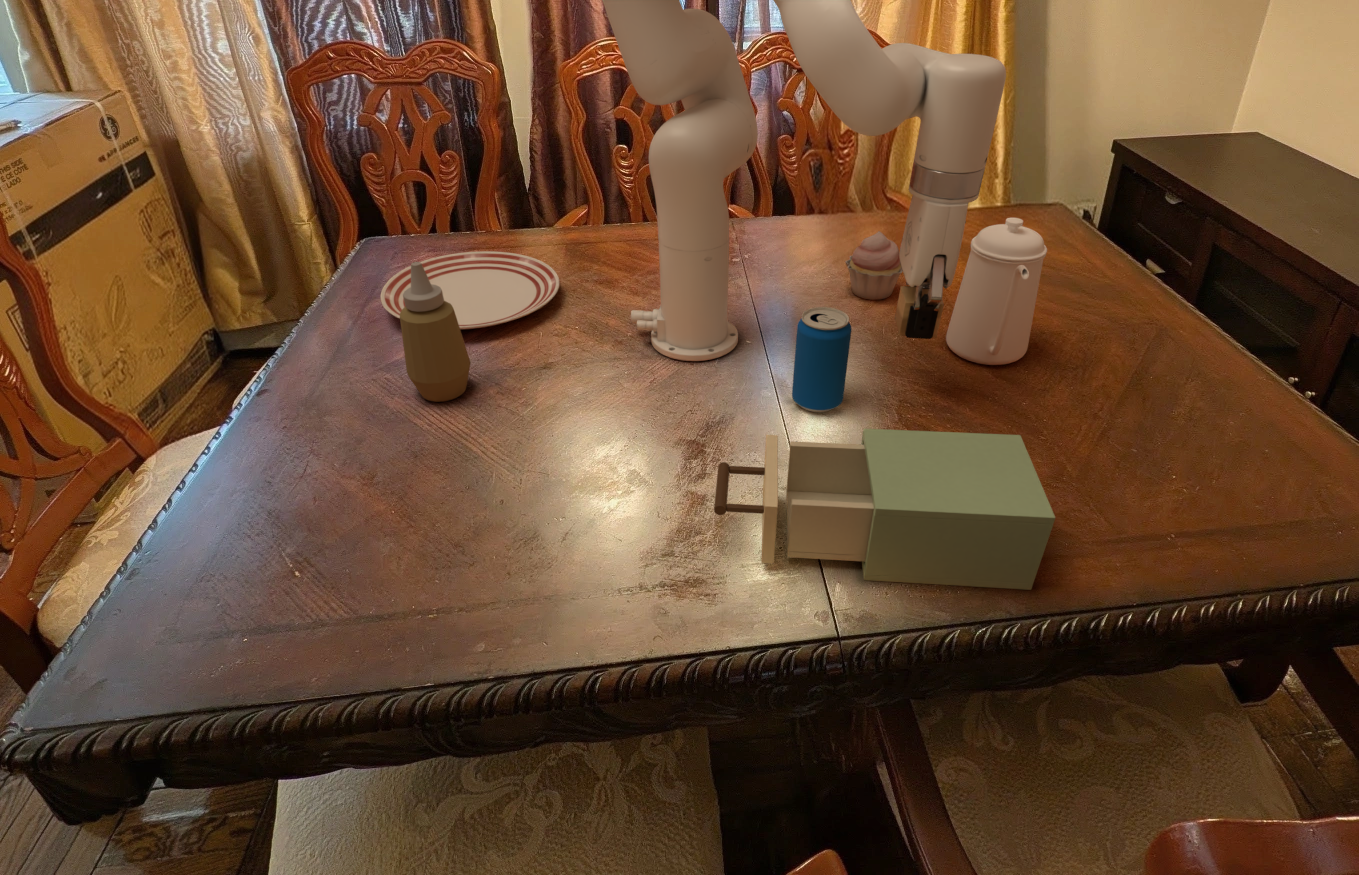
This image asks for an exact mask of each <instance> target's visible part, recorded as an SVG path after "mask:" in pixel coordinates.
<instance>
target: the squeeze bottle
mask: <svg viewBox="0 0 1359 875" xmlns="http://www.w3.org/2000/svg"><path fill="white" fill-rule="evenodd" d="M410 266H411V287H410V288H408V289H407V290H406V291H404V293H403V298H404V302H405V307H404V308H403V309H402V311H401V313H400V319H399V322H400V329H401V338H402V346H403V354H404V362H405V369H406V374H407V376H408V378H409V379H410V381H411V382H412V384H413V385H414V387H415V389H416V390H417V391H418V392H419V394H420V395H421V397H422V398H423V399H424V400H426V401H429V402H436V403H437V402H447V401H451V400H454V399H456V398H458V397H460V396H462V395H463V394H465V392H466V389H467V387H468V379H469V374H470V368H471V360H470V356H469V353H468V349H467V347H466V344H465V340H464V338H463V334H462V330H461V329H460V328H459V324H458V321H457V318H456V315H455V312H454V309H453V307H452V305H451V304H450V303H448V302H446V301H444V298H443V293H442V289H441V288H440V287H439V286H437V285H433V284H431V283H430V281H429V279H428V277H427V275H426V273H425V270H424V268H423V266H422V264H421V261H414V262H411V263H410Z"/></svg>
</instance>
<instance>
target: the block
mask: <svg viewBox="0 0 1359 875" xmlns="http://www.w3.org/2000/svg"><path fill="white" fill-rule="evenodd" d="M908 286H909V285H901V286H900V289H899V294H898V297H897V298H898V299H897V303H896V308H895V309H896V310H895V315H894V321H895V326H896V330H897V333H898V336H899V337H906V335H905V331H906V326H907V321H908V316H909V311H910V306H914V299H915V292H916V287H908ZM928 292H929V289H923V290H922V296H923V295H924V294H928ZM922 296H921V298H922ZM944 306H945V303H944V301H943V300H942V301H941V302H940V306H939V311H938V315H937V320H936V324H935V329H934V333H933V337H932V338H931V339H937V338H938V333H939V329H940V324H941V320H942V316H943V311H944Z"/></svg>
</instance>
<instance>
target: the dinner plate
mask: <svg viewBox="0 0 1359 875" xmlns="http://www.w3.org/2000/svg"><path fill="white" fill-rule="evenodd" d="M420 262H421V264H422V266H423V268H424V270H425V273H426V275H427V277H428V279H429V281H430V283H431V284H433V285H437V286H439V287H440V288H441V289H442V293H443V298H444V301H446V302H448V303H450V304H451V305H452V307H453V309H454V312H455V315H456V318H457V321H458V324H459V328H460V330H472V329H479V328H481V329H482V328H487V327H492V326H497V325H500V324H504V323H507V322H511V321H514V320H517V319H521V318H523V317H525V316H528V315H530V314H532V313H534V312H536V311H538V310H540V309H542V308H543V307H544V306H545V305H547V304H548V303H549V302H551V301H552V299H554V297H555V296H556V294H557V293H558V291H559V289H560V284H561V283H560V277H559V275H558V273H557V271H555V269H554V268H553V267H551V265H549V264H547V263H546V262H545V261H542V260H541V259H540V260H539V259H538V258H535V257H532V256H530V255H525V254H520V253H514V252H509V251H495V250H494V251H493V250H491V251H489V250H488V251H487V250H486V251H485V250H483V251H482V250H481V251H479V250H478V251H466V252H456V253H450V254H445V255H439V256H435V257H431V258H428V259H424V260H422V261H420ZM410 287H411V265H409V266H407V267H405V268H404V269H401V270H400V271H398V272H396V273H395V274H394V275H393V276H391V278H389V279H388V281H387V282H386V283H385V284H384V286H383V287H382V289H381V291H380V297H379V298H380V303H381V305H382V307H383V308H384V309H385V311H387V312H388V313H389V314H390V315H392V316H393V317H395V318H397V319H399V320H400V313H401V311H402V309H403V308H404V307H405V302H404V298H403V293H404V291H406V290H407V289H408V288H410Z"/></svg>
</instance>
